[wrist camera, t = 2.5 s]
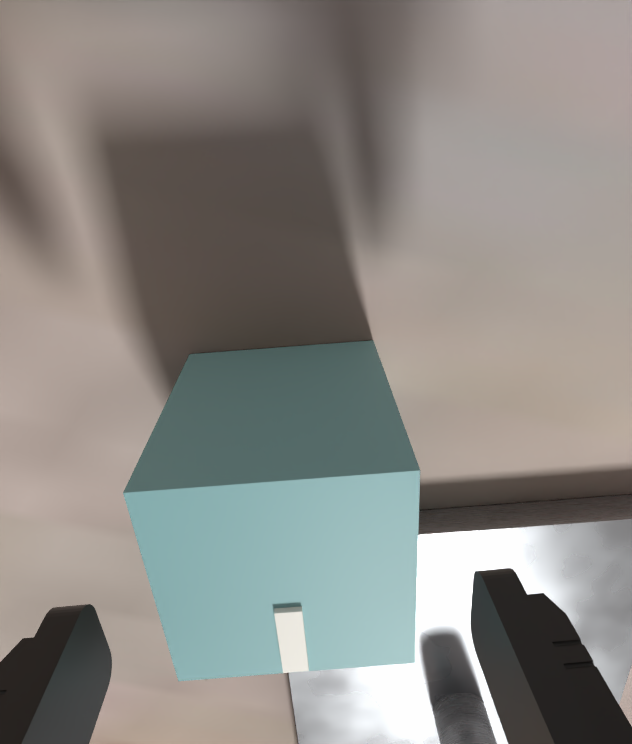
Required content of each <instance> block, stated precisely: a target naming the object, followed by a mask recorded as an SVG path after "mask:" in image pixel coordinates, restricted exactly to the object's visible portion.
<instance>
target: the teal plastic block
mask: <svg viewBox="0 0 632 744" xmlns="http://www.w3.org/2000/svg"><path fill="white" fill-rule="evenodd" d="M123 494H124V497H125V501H126V504H127V508H128V511H129V514H130V518H131V521H132V525H133V528H134V531H135V535H136V538H137V542H138V545H139V548H140V552H141V555H142V559H143V562H144V565H145V569H146V572H147V576H148V579H149V582H150V586H151V589H152V593H153V596H154V599H155V603H156V606H157V610H158V613H159V616H160V620H161V623H162V627H163V630H164V633H165V637H166V640H167V644H168V647H169V651H170V654H171V657H172V661H173V664H174V668H175V671H176V674H177V678H178V681H186V680H200V679H213V678H226V677H239V676H252V675H265V674H278V673H291V672H305V671H318V670H331V669H344V668H357V667H370V666H383V665H396V664H409V663H415V637H416V602H417V566H418V530H419V494H420V469H419V466H418V463H417V460H416V458H415V455H414V452H413V449H412V446H411V444H410V441H409V438H408V435H407V433H406V430H405V427H404V424H403V422H402V419H401V416H400V413H399V411H398V408H397V405H396V402H395V399H394V397H393V394H392V391H391V388H390V386H389V383H388V380H387V377H386V375H385V372H384V369H383V366H382V363H381V361H380V358H379V355H378V352H377V350H376V347H375V344H374V341H373V340H371V341H358V342H345V343H332V344H318V345H305V346H292V347H278V348H265V349H252V350H239V351H225V352H212V353H199V354H189V356H188V359H187V361H186V363H185V365H184V367H183V369H182V371H181V373H180V375H179V377H178V379H177V382H176V384H175V386H174V388H173V390H172V392H171V394H170V396H169V398H168V400H167V402H166V405H165V407H164V409H163V411H162V413H161V415H160V417H159V419H158V421H157V423H156V425H155V428H154V430H153V432H152V434H151V436H150V438H149V440H148V442H147V444H146V446H145V448H144V450H143V453H142V455H141V457H140V459H139V461H138V463H137V465H136V467H135V469H134V471H133V473H132V476H131V478H130V480H129V482H128V484H127V486H126V488H125V490H124V492H123Z"/></svg>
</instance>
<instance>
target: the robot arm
mask: <svg viewBox="0 0 632 744" xmlns="http://www.w3.org/2000/svg"><path fill="white" fill-rule="evenodd" d="M470 628H471V635H472V641H473V645H474V649H475V652H476V655H477V658H478V661H479V664H480V666H481V669H482V672H483V675H484V678H485V680H486V683H487V686H488V689H489V691H490V694H491V697H492V700H493V703H494V705H495V708H496V711H497V714H498V717H499V719H500V722H501V725H502V728H503V731H504V733H505V736H506V739H507V742H508V744H632V727H631V725H630V723H629V721H628V720H627V718H626V716H625V715H624V713H623V711H622V709H621V708H620V706H619V704H618V702H617V701H616V699H615V697H614V696H613V694H612V692H611V690H610V689H609V687H608V685H607V683H606V682H605V680H604V678H603V677H602V675H601V673H600V671H599V670H598V668H597V667H595V666H594V663H593V659H592V658H591V656H590V654H589V652H588V651H587V649H586V647H585V646H584V645H582V643H581V639H580V637H579V635H578V633H577V632H576V630H575V628H574V627H573V625H572V623H571V621H570V620H569V618H568V616H567V614H566V613H565V612H564V611H562V610H561V609H560V608H559V607H558V606H557V605H556V604H555V603H554V602H553V601H552V600H550V599H549V598H548V597H547V596H546V595H545V594H544V593H538V594H527V593H526V591H525V589H524V587H523V585H522V583H521V581H520V579H519V578H518V576H517V574H516V572H515V571H514V570H513V569H512V568H503V569H492V570H481V571H475V573H474V576H473V588H472V602H471V615H470ZM111 669H112V658H111V652H110V649H109V646H108V643H107V641H106V638H105V635H104V632H103V630H102V627H101V624H100V622H99V619H98V616H97V613H96V611H95V608H94V607H93V606H92V605H90V604H88V605H77V606H66V607H55V608H52V609H51V610H50V611H49V612H48V613H47V614H46V616H45V618H44V620H43V621H42V623H41V625H40V627H39V629H38V631H37V633H36V635H35V637H34V638H24V639H22V640H21V641H20V642H19V643H18V644H17V645H16V646H15V647H14V648H13V649H12V650H11V652H10V653H9V654H8V655H7V656H6V657H5V658H4V659H3V660H2V661H1V662H0V744H89V742H90V739H91V736H92V733H93V730H94V727H95V724H96V721H97V718H98V715H99V712H100V709H101V706H102V703H103V700H104V698H105V695H106V692H107V689H108V685H109V682H110V677H111Z"/></svg>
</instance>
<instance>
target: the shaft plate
mask: <svg viewBox="0 0 632 744" xmlns="http://www.w3.org/2000/svg"><path fill="white" fill-rule="evenodd" d="M503 568H512V569H513V570H514V571H515V572H516V574H517V576H518V578H519V579H520V581H521V583H522V585H523V587H524V589H525V591H526V593H527V594H538V593H544V594H545V595H546V596H547V597H548V598H549V599H550V600H552V601H553V602H554V603H555V604H556V605H557V606H558V607H559V608H560V609H561V610H562V611H564V612H565V613H566V614H567V616H568V618H569V620H570V621H571V623H572V625H573V627H574V628H575V630H576V632H577V633H578V635H579V637H580V639H581V643H582V645H584V646H585V647H586V649H587V651H588V652H589V654H590V656H591V658H592V659H593V663H594V666H595V667H597V668H598V670H599V671H600V673H601V675H602V677H603V678H604V680H605V682H606V683H607V685H608V687H609V689H610V690H611V692H612V694H613V696H614V697H615V699H616V701H617V702H618V704H619V703H620V700H621V697H622V694H623V690H624V687H625V684H626V681H627V678H628V675H629V671H630V668H631V665H632V495H619V496H605V497H592V498H579V499H566V500H553V501H539V502H526V503H513V504H500V505H487V506H473V507H460V508H447V509H434V510H421V511H419V530H418V566H417V602H416V637H415V663H409V664H396V665H383V666H370V667H357V668H344V669H331V670H318V671H305V672H291V673H289V680H290V687H291V694H292V701H293V708H294V715H295V722H296V729H297V736H298V743H299V744H508V742H507V739H506V736H505V733H504V731H503V728H502V725H501V722H500V719H499V717H498V714H497V711H496V708H495V705H494V703H493V700H492V697H491V694H490V691H489V689H488V686H487V683H486V680H485V678H484V675H483V672H482V669H481V666H480V664H479V661H478V658H477V655H476V652H475V649H474V645H473V641H472V635H471V628H470V615H471V602H472V588H473V576H474V573H475V571H481V570H492V569H503Z"/></svg>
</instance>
